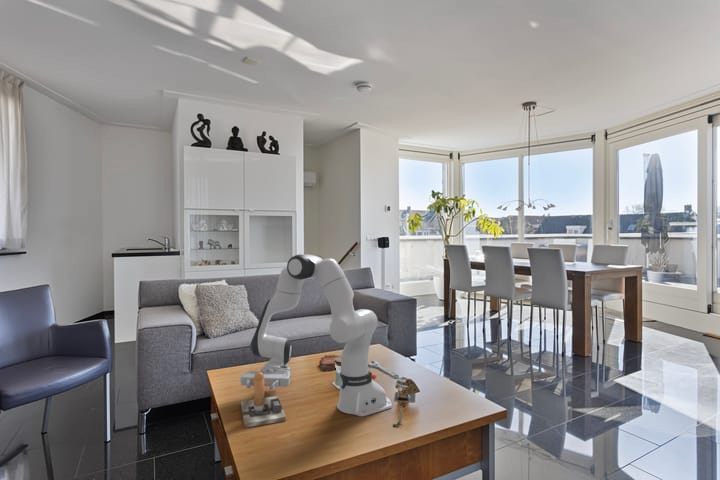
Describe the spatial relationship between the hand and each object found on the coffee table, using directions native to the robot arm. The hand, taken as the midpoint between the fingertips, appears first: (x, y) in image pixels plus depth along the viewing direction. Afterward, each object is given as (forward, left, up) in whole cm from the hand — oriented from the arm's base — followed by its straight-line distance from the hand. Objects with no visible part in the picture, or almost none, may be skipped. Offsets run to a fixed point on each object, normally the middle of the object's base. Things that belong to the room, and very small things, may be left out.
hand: (259, 386), depth 151 cm
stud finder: (-6, +1, -9) cm, 11 cm away
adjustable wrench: (-65, -27, -11) cm, 71 cm away
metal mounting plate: (-1, -1, -11) cm, 11 cm away
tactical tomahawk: (-53, +20, -11) cm, 58 cm away
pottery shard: (-43, -43, -11) cm, 62 cm away
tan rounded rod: (0, +1, -9) cm, 9 cm away
